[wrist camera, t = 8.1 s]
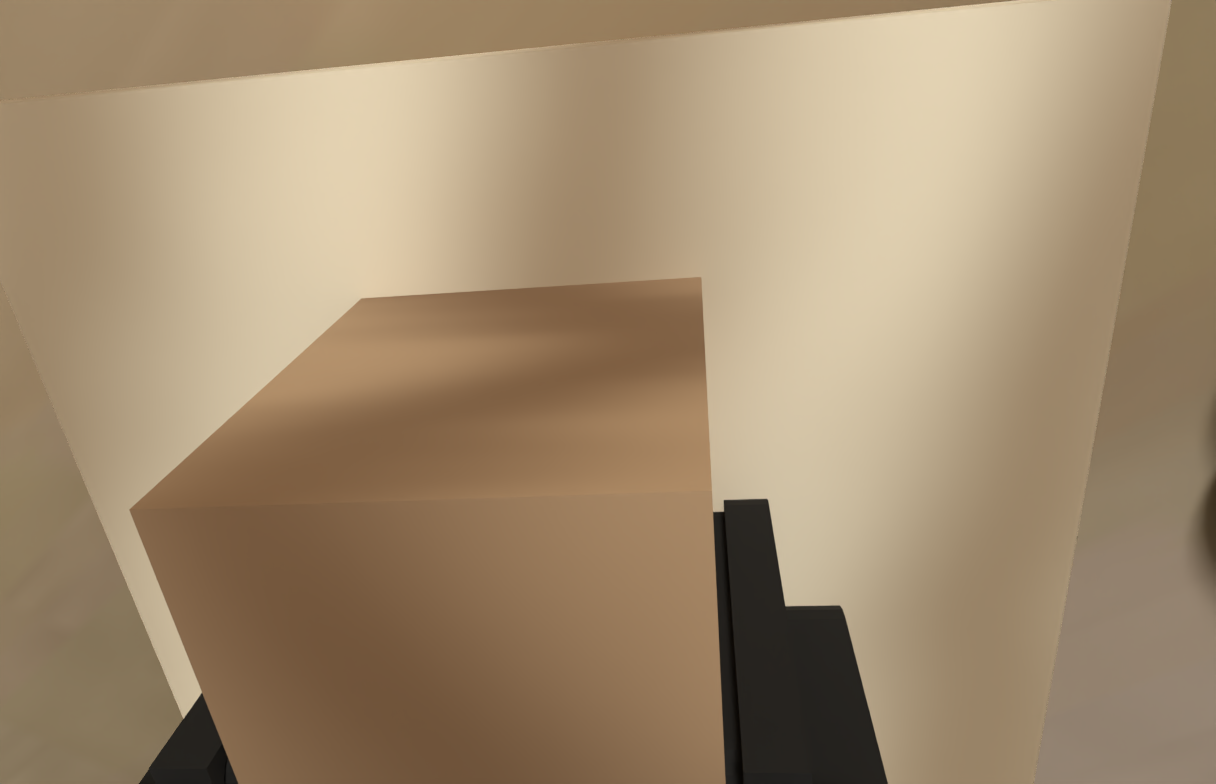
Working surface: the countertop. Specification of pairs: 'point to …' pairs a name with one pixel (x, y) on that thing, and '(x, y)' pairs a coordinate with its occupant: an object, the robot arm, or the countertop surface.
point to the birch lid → (592, 377)
